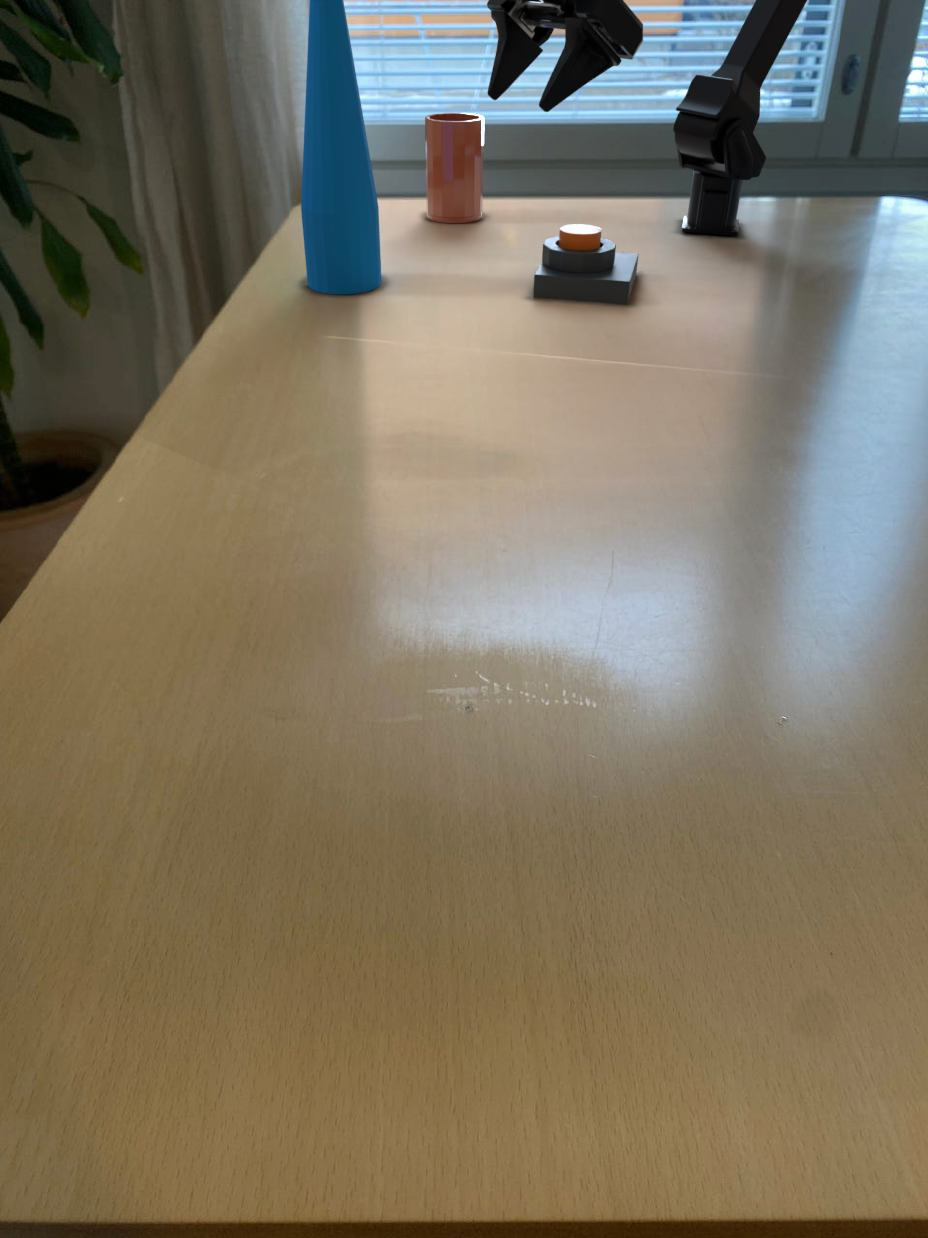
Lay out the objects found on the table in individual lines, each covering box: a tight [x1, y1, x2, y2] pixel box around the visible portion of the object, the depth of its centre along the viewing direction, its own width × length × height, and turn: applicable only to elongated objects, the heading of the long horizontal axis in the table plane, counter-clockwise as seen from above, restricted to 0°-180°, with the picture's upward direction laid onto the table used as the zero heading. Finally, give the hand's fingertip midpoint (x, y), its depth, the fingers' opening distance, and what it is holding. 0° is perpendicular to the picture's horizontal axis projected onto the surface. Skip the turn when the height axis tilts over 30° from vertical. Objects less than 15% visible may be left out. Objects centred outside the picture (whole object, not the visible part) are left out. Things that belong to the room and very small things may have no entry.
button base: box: [532, 235, 639, 306], centre depth 92 cm, size 10×9×4 cm
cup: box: [424, 112, 485, 224], centre depth 114 cm, size 7×7×11 cm
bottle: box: [300, 0, 383, 295], centre depth 85 cm, size 7×7×30 cm
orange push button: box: [558, 223, 602, 250], centre depth 91 cm, size 4×4×2 cm
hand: (515, 102), depth 92 cm, fingers open, 9 cm apart
